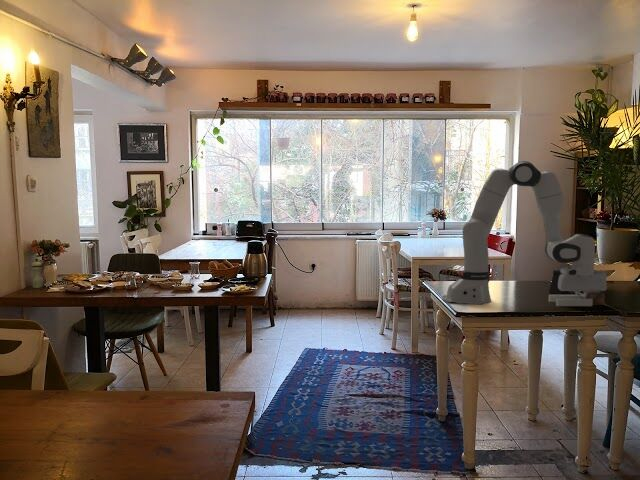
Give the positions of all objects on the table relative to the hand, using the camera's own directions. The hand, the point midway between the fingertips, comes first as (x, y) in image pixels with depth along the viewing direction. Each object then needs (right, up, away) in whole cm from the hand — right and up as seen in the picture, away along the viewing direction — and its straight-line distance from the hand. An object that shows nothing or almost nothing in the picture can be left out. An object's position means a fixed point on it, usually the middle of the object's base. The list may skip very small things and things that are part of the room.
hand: (581, 300), depth 229 cm
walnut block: (+5, -1, 0) cm, 6 cm away
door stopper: (+3, 0, +28) cm, 28 cm away
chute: (-5, -2, +1) cm, 6 cm away
